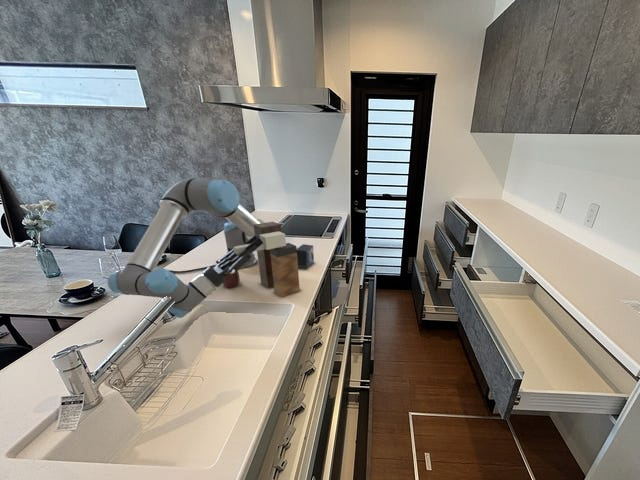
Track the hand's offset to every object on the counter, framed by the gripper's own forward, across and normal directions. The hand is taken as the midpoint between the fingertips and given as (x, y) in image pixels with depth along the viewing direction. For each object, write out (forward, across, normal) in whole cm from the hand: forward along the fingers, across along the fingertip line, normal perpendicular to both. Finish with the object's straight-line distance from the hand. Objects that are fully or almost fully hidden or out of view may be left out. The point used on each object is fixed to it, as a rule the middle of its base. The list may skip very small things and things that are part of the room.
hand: (258, 239), depth 117 cm
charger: (-1, 0, -4) cm, 4 cm away
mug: (-19, -23, -19) cm, 36 cm away
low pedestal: (-4, 0, -28) cm, 28 cm away
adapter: (+5, 0, -12) cm, 13 cm away
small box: (+16, -22, -40) cm, 48 cm away
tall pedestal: (-4, -12, -28) cm, 30 cm away
